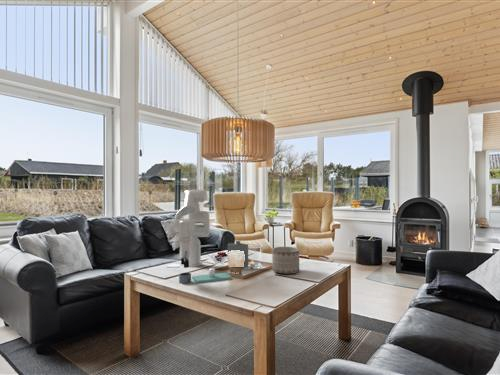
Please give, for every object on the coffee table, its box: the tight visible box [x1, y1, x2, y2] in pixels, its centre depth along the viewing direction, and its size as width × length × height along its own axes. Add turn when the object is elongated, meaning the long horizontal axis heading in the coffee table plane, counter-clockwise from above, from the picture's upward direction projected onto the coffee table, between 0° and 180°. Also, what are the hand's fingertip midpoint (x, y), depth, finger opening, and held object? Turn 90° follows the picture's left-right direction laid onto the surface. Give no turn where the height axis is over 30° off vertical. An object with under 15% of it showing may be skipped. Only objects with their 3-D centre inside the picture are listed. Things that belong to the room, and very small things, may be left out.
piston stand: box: [191, 267, 233, 284], centre depth 217 cm, size 12×24×6 cm, turn 112°
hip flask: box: [227, 240, 249, 268], centre depth 248 cm, size 16×4×20 cm, turn 83°
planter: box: [271, 246, 300, 275], centre depth 233 cm, size 19×19×16 cm
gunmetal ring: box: [178, 272, 192, 285], centre depth 210 cm, size 7×7×5 cm
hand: (184, 265), depth 209 cm, fingers open, 9 cm apart
